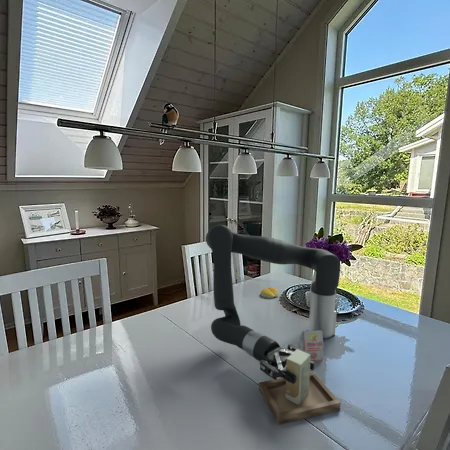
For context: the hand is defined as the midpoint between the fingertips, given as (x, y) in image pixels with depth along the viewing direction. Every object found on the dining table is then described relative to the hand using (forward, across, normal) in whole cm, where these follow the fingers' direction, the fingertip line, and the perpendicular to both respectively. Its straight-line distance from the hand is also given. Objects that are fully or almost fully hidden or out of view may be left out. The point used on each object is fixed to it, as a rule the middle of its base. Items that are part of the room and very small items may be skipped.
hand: (305, 373), depth 80 cm
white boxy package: (-10, +19, +9) cm, 24 cm away
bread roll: (-56, +50, +10) cm, 76 cm away
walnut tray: (-2, 0, +9) cm, 9 cm away
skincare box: (-2, 0, +8) cm, 8 cm away
